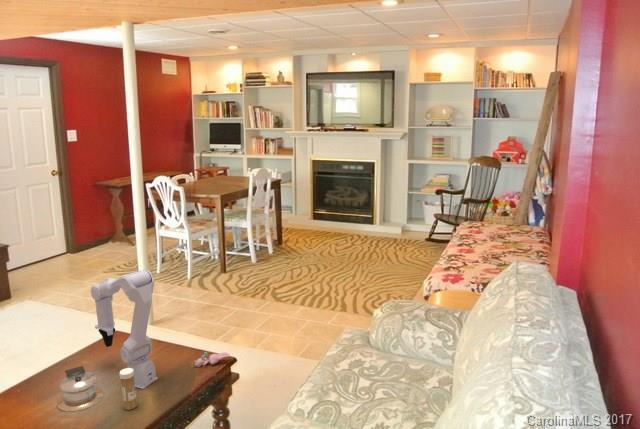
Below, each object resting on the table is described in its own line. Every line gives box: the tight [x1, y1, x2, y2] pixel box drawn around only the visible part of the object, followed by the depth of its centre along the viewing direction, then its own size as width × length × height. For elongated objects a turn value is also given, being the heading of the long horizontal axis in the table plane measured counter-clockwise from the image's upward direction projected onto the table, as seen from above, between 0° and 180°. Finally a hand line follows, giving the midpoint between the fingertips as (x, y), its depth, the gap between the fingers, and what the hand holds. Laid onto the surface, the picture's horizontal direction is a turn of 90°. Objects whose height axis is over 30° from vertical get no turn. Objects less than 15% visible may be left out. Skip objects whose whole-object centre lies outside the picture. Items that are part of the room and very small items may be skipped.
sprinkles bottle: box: [119, 367, 138, 411], centre depth 172 cm, size 5×5×13 cm
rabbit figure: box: [191, 351, 230, 368], centre depth 200 cm, size 6×6×15 cm
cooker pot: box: [56, 384, 105, 413], centre depth 178 cm, size 15×15×6 cm
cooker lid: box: [59, 365, 97, 393], centre depth 178 cm, size 15×12×2 cm
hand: (108, 345), depth 198 cm, fingers closed
